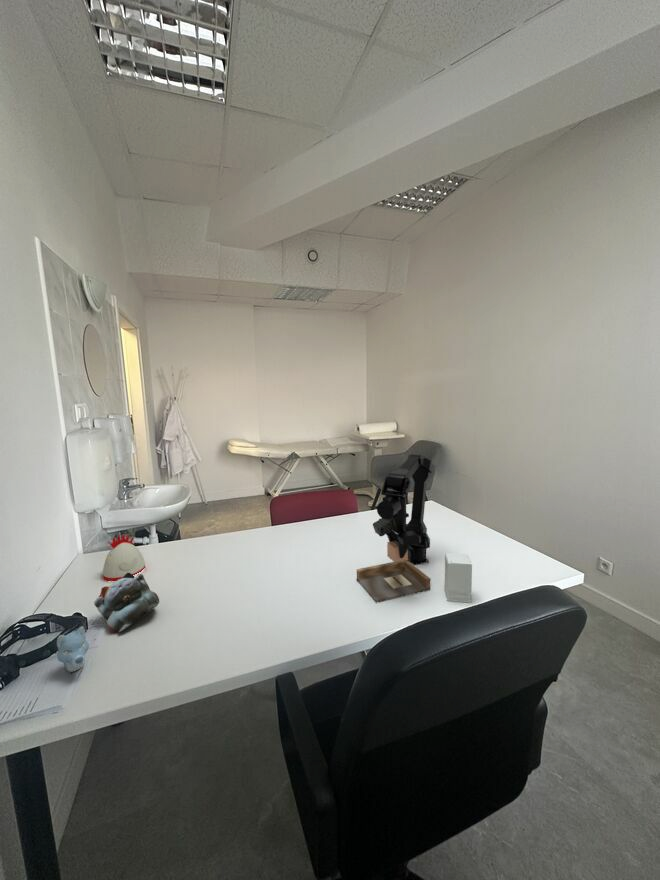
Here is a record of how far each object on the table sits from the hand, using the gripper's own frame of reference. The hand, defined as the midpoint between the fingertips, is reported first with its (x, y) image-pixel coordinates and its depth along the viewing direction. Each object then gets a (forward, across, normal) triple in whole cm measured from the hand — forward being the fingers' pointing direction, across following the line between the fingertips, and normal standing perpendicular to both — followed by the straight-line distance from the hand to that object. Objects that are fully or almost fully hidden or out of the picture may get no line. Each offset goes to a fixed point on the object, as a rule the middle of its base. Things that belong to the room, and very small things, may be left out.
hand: (397, 554), depth 122 cm
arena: (+10, 0, -2) cm, 11 cm away
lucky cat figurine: (+11, -12, -84) cm, 85 cm away
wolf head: (+11, +7, -92) cm, 93 cm away
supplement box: (+11, +14, +14) cm, 22 cm away
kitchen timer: (+11, -45, -91) cm, 102 cm away
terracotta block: (+1, 0, 0) cm, 1 cm away
